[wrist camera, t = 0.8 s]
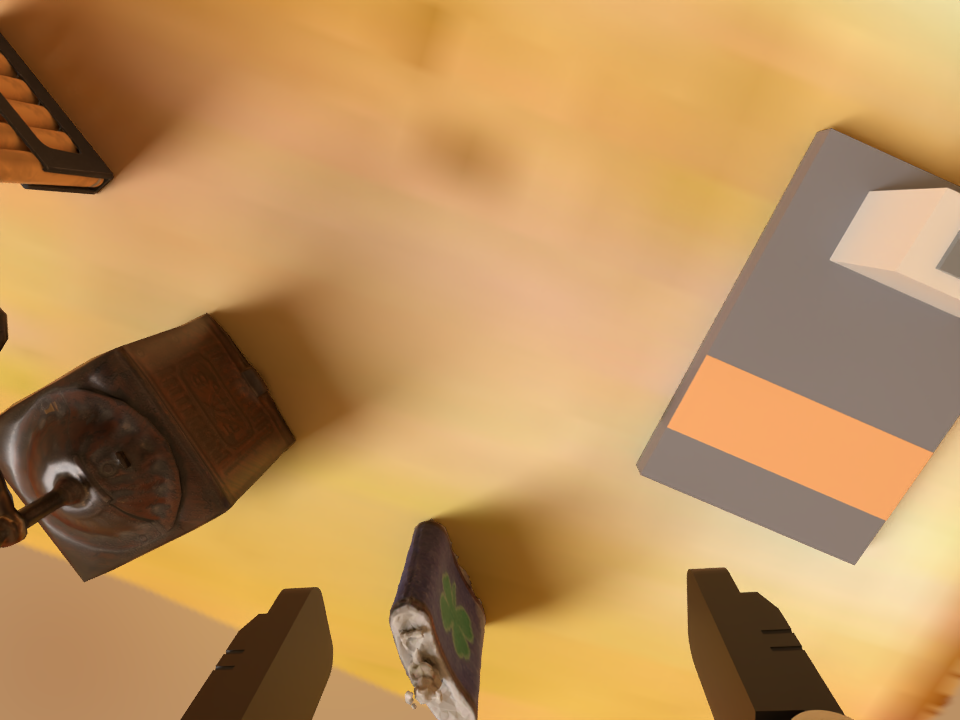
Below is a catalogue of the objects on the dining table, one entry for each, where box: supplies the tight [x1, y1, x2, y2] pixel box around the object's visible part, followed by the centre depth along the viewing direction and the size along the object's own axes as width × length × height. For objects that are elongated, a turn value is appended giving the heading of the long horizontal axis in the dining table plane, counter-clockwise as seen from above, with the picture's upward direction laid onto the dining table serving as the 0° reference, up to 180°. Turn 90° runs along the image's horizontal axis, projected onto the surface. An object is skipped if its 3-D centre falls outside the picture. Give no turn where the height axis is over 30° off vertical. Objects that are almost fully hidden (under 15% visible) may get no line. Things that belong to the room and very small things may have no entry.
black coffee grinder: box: [0, 308, 295, 582], centre depth 30 cm, size 16×11×18 cm
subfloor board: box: [636, 128, 960, 565], centre depth 35 cm, size 22×15×2 cm
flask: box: [389, 518, 486, 720], centre depth 36 cm, size 9×3×11 cm, turn 23°
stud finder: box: [829, 188, 960, 317], centre depth 29 cm, size 4×8×6 cm, turn 67°
